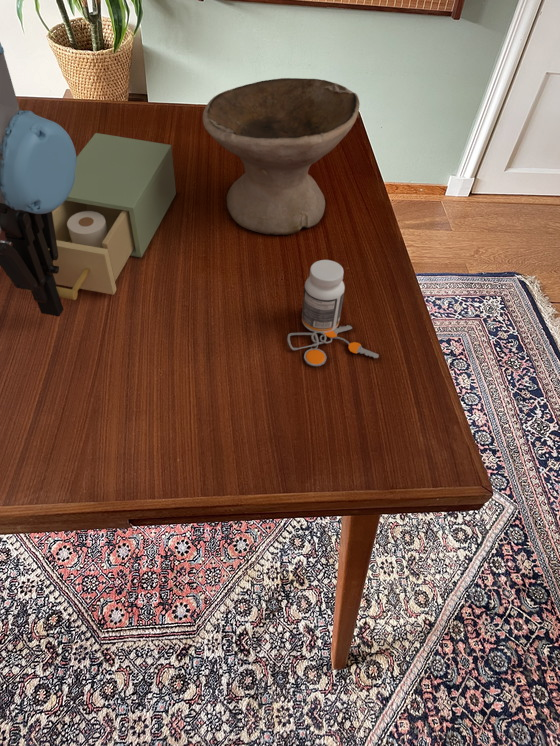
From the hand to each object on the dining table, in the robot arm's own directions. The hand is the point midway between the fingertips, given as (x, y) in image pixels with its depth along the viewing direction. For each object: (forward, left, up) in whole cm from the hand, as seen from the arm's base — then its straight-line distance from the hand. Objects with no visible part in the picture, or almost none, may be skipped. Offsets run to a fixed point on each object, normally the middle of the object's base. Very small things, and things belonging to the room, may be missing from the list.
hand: (52, 311), depth 82 cm
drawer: (-1, +12, -2) cm, 13 cm away
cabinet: (-3, +26, -3) cm, 27 cm away
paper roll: (-2, +14, -1) cm, 15 cm away
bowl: (+21, +40, -3) cm, 45 cm away
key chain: (+39, +10, -3) cm, 40 cm away
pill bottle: (+36, +14, -3) cm, 39 cm away
